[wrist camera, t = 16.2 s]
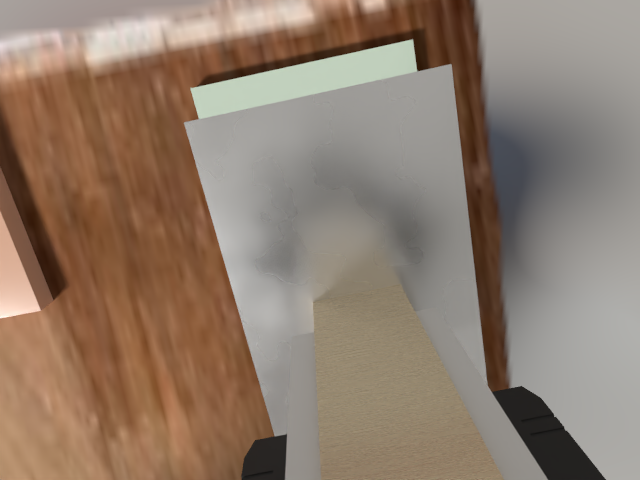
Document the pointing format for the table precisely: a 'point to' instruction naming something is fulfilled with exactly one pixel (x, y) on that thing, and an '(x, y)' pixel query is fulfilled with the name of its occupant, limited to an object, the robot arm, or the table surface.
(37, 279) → the tile
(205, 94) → the rest mat
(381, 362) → the beige post on base
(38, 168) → the table surface
